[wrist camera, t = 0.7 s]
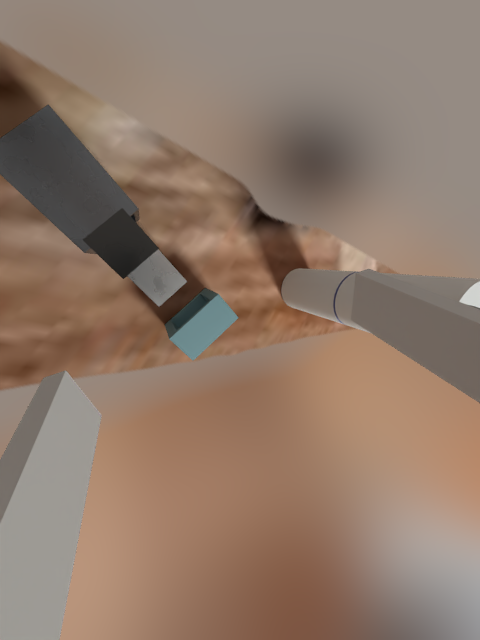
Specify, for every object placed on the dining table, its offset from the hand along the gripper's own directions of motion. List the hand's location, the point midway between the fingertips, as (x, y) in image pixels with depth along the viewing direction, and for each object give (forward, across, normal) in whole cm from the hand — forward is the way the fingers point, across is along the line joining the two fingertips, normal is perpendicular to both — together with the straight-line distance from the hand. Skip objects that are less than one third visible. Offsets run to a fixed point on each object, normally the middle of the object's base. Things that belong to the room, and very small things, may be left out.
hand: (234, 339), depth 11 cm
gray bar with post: (+25, -7, +2) cm, 26 cm away
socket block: (+24, -1, -11) cm, 27 cm away
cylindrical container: (+26, +18, -13) cm, 34 cm away
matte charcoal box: (+27, -9, +6) cm, 29 cm away
